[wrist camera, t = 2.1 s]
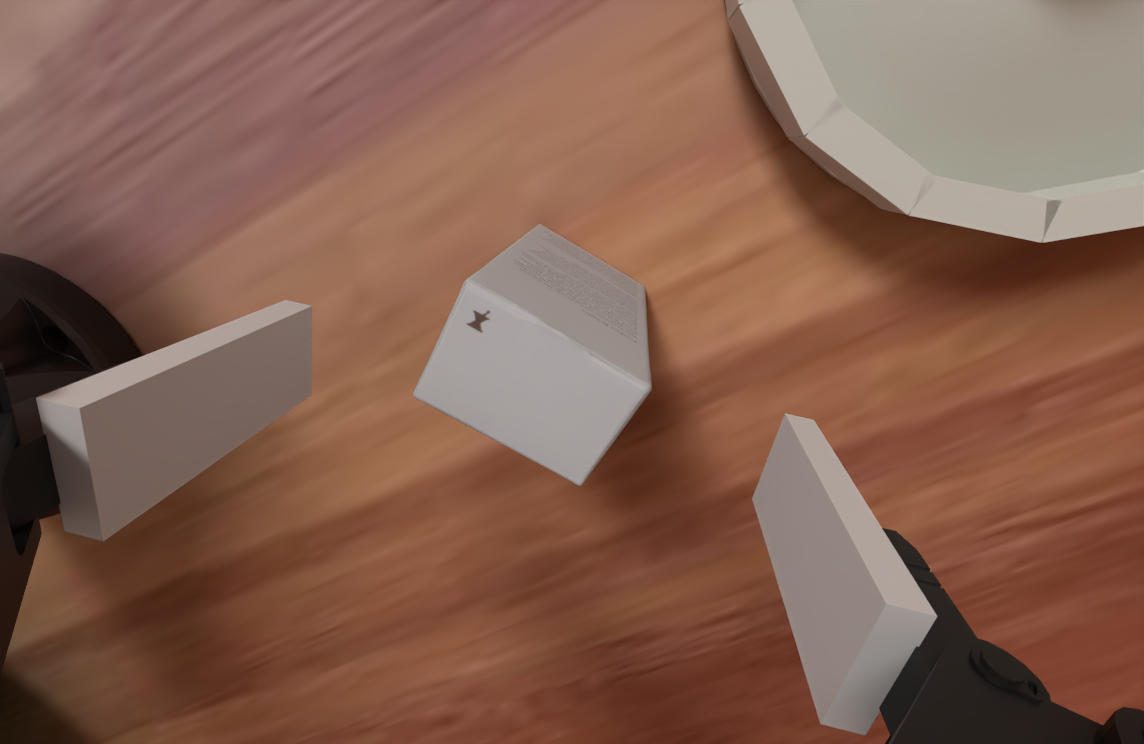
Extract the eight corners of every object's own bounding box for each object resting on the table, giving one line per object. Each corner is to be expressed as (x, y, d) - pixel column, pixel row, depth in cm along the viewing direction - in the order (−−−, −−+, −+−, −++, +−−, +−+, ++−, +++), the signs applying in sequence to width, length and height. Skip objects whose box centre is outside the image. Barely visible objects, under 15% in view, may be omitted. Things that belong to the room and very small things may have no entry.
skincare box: (499, 297, 27) (403, 395, 16) (539, 221, 26) (463, 271, 14) (604, 358, 28) (581, 493, 17) (650, 287, 26) (658, 384, 15)
